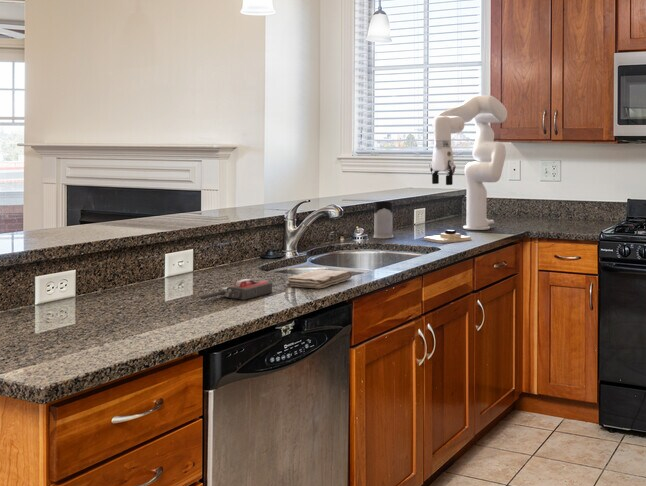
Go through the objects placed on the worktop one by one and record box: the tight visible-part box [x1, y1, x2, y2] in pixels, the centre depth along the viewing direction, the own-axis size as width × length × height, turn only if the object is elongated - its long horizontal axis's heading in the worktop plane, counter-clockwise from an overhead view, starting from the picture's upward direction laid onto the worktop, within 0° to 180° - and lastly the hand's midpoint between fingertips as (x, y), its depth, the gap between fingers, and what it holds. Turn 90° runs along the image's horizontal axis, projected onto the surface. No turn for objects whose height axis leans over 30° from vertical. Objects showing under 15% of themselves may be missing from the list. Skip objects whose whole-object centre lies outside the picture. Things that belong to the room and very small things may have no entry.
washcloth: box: [286, 269, 353, 290], centre depth 218 cm, size 12×18×3 cm, turn 157°
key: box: [444, 229, 457, 234], centre depth 310 cm, size 3×3×2 cm
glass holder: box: [372, 201, 394, 239], centre depth 323 cm, size 9×14×15 cm, turn 10°
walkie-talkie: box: [199, 278, 273, 301], centre depth 198 cm, size 9×4×20 cm
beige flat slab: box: [423, 232, 472, 244], centre depth 311 cm, size 16×12×3 cm
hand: (442, 184), depth 322 cm, fingers open, 9 cm apart
